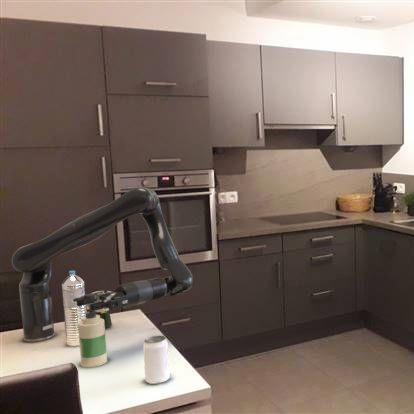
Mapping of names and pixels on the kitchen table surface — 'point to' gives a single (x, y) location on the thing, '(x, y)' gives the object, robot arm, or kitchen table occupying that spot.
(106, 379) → the kitchen table surface
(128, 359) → the kitchen table surface
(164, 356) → the can
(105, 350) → the dispenser
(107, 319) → the character mug
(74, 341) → the water bottle
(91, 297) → the pump head
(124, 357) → the kitchen table surface
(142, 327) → the kitchen table surface
